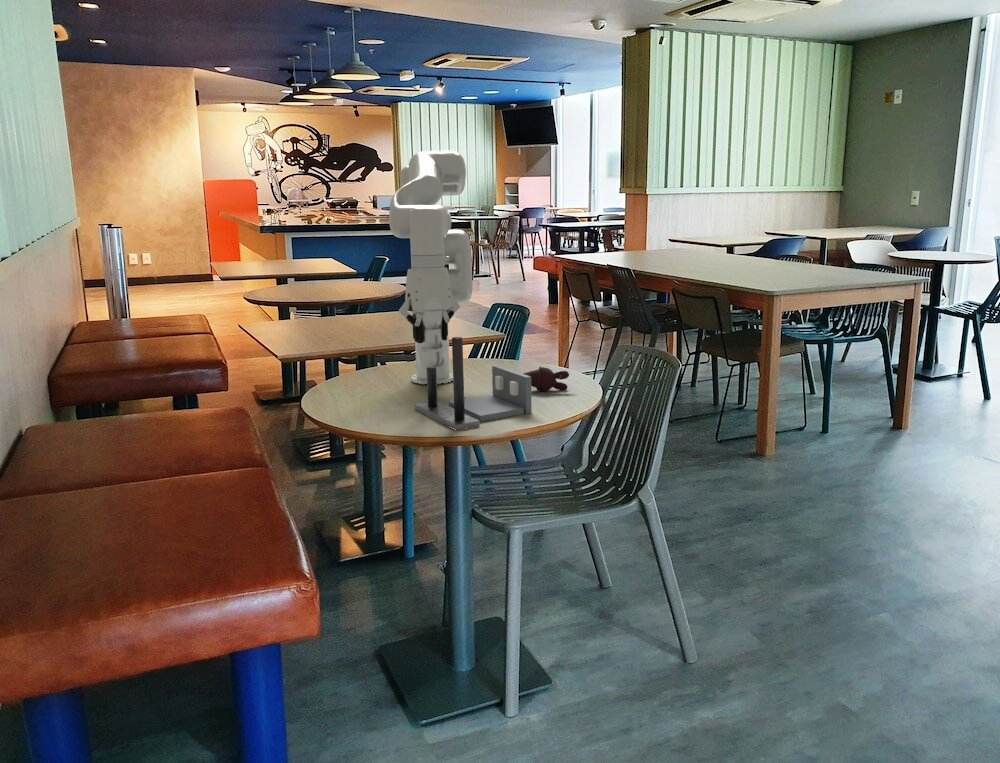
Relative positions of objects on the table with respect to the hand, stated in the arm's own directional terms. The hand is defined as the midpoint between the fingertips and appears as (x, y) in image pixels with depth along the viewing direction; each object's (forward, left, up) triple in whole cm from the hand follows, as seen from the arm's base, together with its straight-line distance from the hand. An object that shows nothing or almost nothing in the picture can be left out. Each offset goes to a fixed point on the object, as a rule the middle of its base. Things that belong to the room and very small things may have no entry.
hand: (430, 340), depth 185 cm
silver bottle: (0, 0, -7) cm, 7 cm away
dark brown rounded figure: (-9, +36, -19) cm, 42 cm away
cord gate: (0, +3, -19) cm, 20 cm away
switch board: (0, +15, -19) cm, 24 cm away
